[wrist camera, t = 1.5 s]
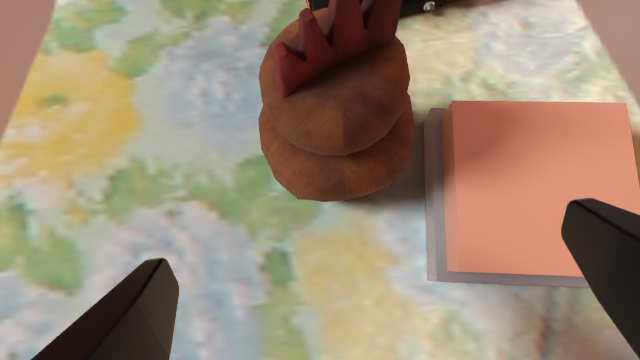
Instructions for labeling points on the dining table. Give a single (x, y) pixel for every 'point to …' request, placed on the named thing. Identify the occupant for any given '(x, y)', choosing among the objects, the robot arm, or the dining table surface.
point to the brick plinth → (519, 186)
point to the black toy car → (411, 3)
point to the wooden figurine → (337, 101)
